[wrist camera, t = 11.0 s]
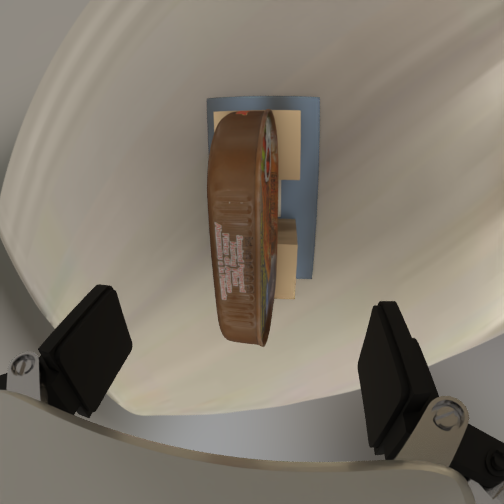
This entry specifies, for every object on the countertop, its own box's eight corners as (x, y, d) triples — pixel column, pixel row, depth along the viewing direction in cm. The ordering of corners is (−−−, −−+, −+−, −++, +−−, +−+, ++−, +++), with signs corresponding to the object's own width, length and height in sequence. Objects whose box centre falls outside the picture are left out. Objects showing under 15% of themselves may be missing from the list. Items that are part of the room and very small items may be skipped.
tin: (275, 299, 25) (270, 374, 18) (238, 298, 25) (220, 370, 18) (278, 111, 19) (274, 105, 11) (232, 111, 19) (199, 108, 11)
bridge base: (318, 97, 24) (329, 91, 18) (311, 276, 31) (316, 313, 25) (208, 99, 25) (185, 94, 19) (218, 272, 32) (203, 308, 26)
